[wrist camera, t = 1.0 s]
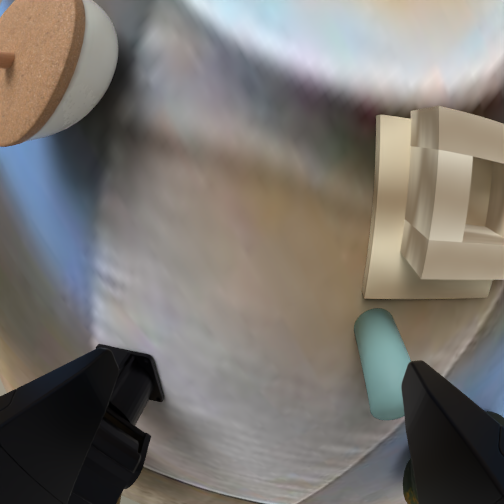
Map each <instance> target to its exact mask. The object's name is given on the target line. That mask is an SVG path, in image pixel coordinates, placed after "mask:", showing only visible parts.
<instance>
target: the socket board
mask: <svg viewBox="0 0 504 504" xmlns="http://www.w3.org/2000/svg"><path fill="white" fill-rule="evenodd" d="M493 280H504V124H502V123H499V122H496V121H493V120H490V119H487V118H483V117H480V116H476V115H473V114H469V113H466V112H462V111H458V110H454V109H450V108H446V107H441V106H436V107H430V108H425V109H419V110H414V111H411V119H408V118H401V117H394V116H387V115H377V116H376V157H375V178H374V193H373V206H372V217H371V227H370V236H369V245H368V253H367V261H366V268H365V275H364V281H363V287H362V293H363V296H364V299H459V298H487V297H488V294H489V291H490V288H491V284H492V281H493Z"/></svg>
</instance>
